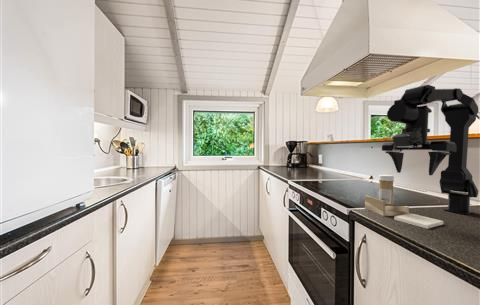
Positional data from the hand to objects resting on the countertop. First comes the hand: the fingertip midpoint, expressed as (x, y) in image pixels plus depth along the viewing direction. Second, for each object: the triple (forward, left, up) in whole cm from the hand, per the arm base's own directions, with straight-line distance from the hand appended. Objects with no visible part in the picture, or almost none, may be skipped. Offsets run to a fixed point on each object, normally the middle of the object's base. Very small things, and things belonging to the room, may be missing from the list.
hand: (413, 173), depth 72 cm
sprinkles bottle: (-2, -10, -15) cm, 18 cm away
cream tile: (+1, +2, -15) cm, 15 cm away
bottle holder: (-2, -10, -15) cm, 18 cm away
